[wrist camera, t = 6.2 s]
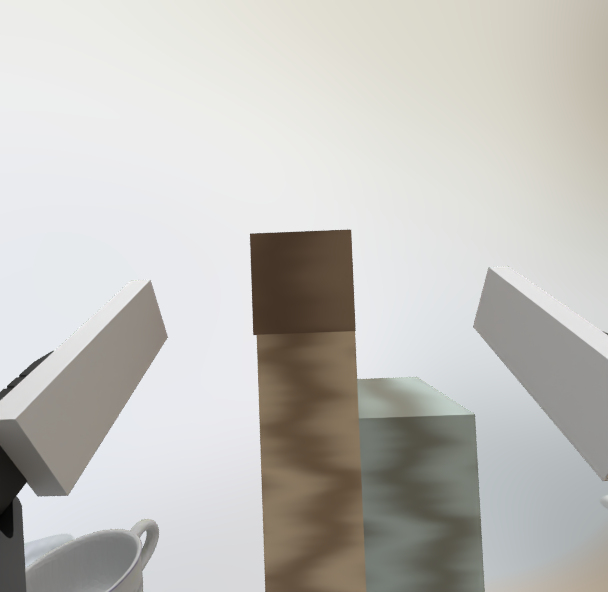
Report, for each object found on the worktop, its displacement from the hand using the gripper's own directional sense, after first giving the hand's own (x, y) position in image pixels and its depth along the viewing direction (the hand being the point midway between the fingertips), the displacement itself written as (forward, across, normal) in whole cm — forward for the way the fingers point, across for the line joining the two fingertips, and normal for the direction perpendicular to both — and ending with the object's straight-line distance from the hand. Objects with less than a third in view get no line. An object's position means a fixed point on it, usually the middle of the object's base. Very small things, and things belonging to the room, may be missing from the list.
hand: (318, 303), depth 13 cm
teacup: (0, -22, -36) cm, 42 cm away
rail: (+8, -1, -6) cm, 10 cm away
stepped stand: (-6, +2, -33) cm, 33 cm away
